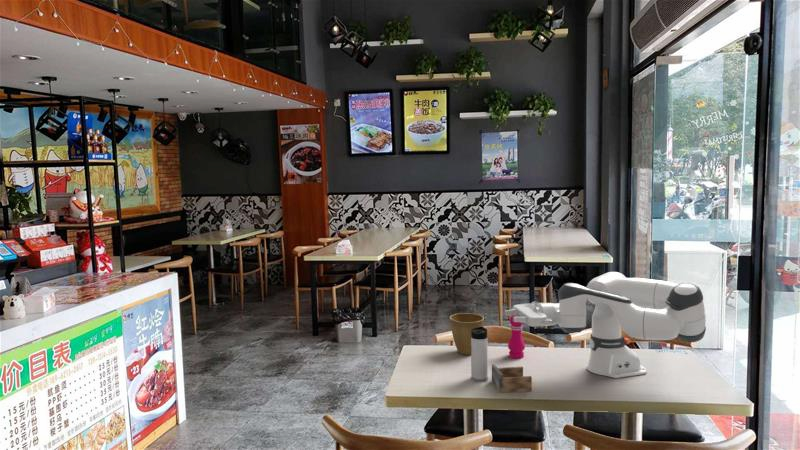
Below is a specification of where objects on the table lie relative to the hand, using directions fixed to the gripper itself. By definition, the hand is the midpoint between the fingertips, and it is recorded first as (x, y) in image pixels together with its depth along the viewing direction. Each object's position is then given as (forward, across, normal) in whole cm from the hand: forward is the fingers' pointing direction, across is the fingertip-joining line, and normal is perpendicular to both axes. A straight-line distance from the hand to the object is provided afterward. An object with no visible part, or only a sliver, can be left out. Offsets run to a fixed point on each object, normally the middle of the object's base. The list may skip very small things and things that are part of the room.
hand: (509, 316), depth 233 cm
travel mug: (+12, +1, -25) cm, 27 cm away
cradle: (+2, -9, -24) cm, 26 cm away
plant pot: (+8, +33, -25) cm, 42 cm away
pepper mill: (-12, +24, -25) cm, 36 cm away
